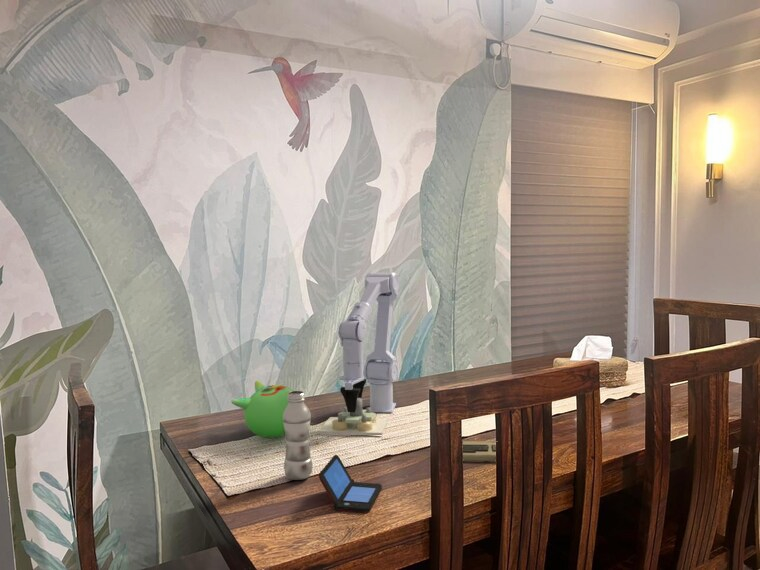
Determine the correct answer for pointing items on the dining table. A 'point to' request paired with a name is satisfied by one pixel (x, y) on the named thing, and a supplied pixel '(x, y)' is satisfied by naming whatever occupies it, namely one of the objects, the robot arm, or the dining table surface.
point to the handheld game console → (347, 488)
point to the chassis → (354, 426)
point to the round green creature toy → (265, 409)
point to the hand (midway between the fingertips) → (354, 408)
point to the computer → (479, 451)
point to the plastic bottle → (297, 437)
